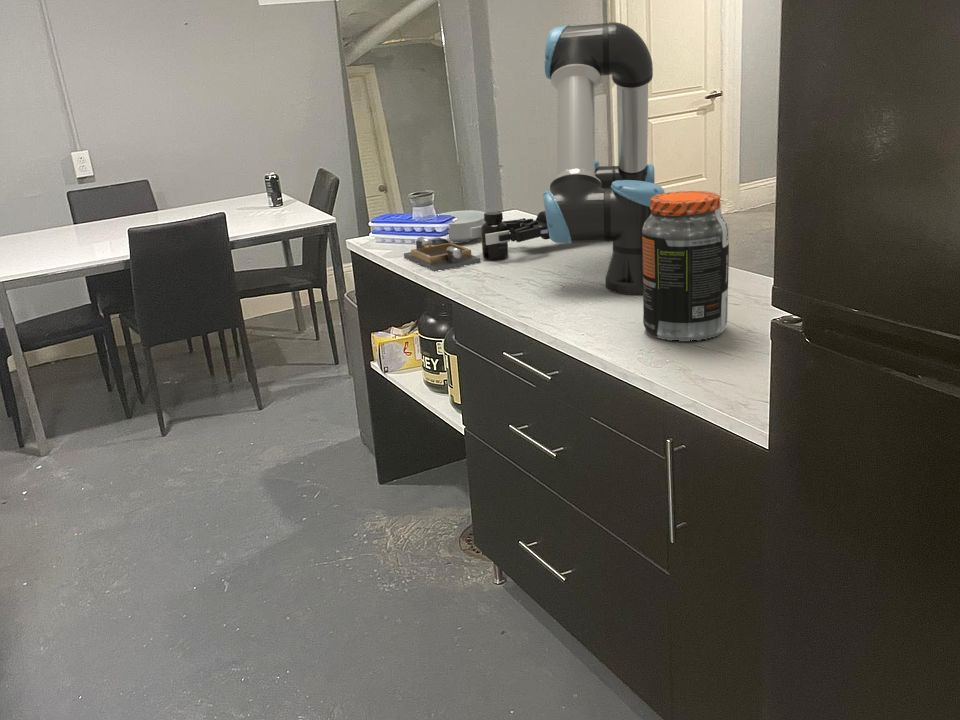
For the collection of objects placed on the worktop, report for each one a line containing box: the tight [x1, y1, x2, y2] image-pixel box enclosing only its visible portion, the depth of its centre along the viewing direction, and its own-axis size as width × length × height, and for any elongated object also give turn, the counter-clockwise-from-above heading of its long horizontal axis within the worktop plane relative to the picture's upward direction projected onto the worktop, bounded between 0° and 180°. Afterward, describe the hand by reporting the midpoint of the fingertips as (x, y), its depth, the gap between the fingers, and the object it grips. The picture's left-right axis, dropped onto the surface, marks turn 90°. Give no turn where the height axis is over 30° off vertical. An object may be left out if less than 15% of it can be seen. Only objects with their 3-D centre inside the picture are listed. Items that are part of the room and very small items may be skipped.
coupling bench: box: [403, 236, 482, 272], centre depth 239 cm, size 21×13×5 cm, turn 28°
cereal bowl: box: [436, 209, 486, 243], centre depth 260 cm, size 17×17×7 cm
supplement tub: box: [642, 190, 730, 342], centre depth 169 cm, size 16×16×26 cm
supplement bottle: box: [481, 211, 509, 262], centre depth 236 cm, size 7×7×12 cm
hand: (478, 236), depth 234 cm, fingers open, 9 cm apart
